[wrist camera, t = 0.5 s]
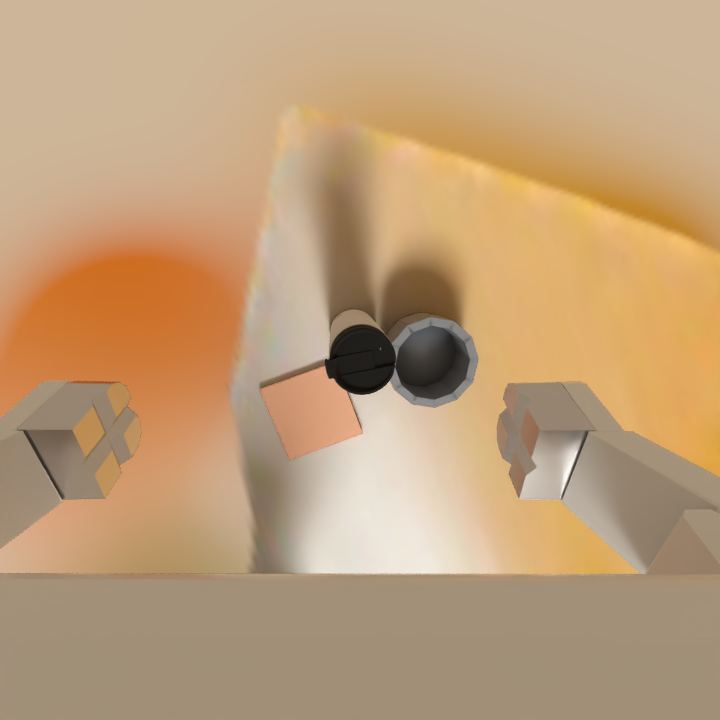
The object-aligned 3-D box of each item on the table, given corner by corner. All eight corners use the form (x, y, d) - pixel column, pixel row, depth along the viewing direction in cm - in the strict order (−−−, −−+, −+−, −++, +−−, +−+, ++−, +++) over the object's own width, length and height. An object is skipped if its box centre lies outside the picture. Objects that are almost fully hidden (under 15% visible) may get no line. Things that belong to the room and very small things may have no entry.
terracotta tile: (362, 431, 59) (362, 433, 59) (290, 457, 60) (289, 460, 59) (335, 361, 57) (335, 362, 56) (260, 388, 57) (259, 390, 56)
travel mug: (323, 313, 56) (318, 336, 36) (372, 304, 56) (393, 322, 36) (332, 358, 57) (331, 403, 37) (379, 349, 57) (403, 390, 38)
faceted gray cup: (469, 375, 59) (487, 388, 52) (396, 401, 59) (404, 418, 52) (446, 301, 56) (462, 305, 50) (370, 329, 56) (375, 337, 50)
